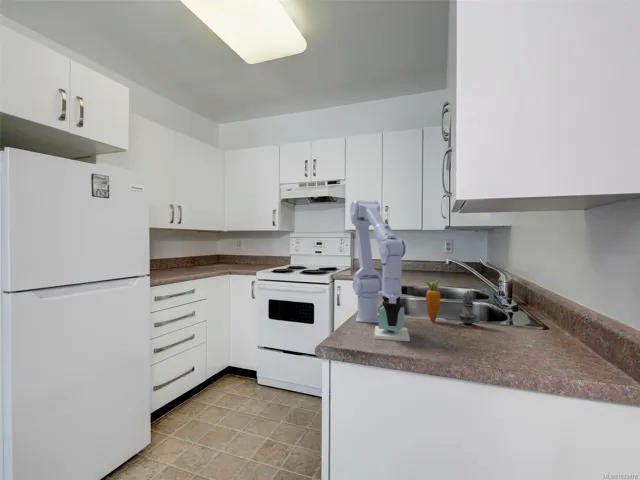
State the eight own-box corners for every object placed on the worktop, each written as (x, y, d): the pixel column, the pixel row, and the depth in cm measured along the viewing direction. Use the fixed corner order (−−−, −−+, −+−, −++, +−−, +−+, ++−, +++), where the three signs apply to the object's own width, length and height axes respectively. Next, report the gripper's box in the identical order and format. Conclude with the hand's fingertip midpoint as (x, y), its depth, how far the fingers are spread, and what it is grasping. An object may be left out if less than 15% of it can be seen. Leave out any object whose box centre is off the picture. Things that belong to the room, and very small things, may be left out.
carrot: (422, 321, 108) (423, 279, 108) (429, 319, 112) (430, 278, 112) (436, 324, 105) (436, 281, 105) (442, 322, 108) (443, 280, 108)
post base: (375, 328, 99) (375, 313, 99) (406, 331, 97) (407, 315, 97) (374, 338, 90) (374, 321, 90) (409, 341, 88) (409, 324, 88)
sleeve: (385, 323, 98) (385, 305, 98) (403, 326, 94) (404, 307, 94) (378, 328, 93) (378, 308, 93) (397, 331, 89) (397, 311, 89)
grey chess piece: (478, 328, 100) (479, 292, 100) (459, 327, 102) (459, 291, 102) (475, 324, 106) (476, 289, 106) (457, 322, 108) (457, 288, 108)
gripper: (378, 274, 101) (378, 315, 101) (378, 280, 87) (378, 328, 87) (400, 275, 100) (400, 316, 100) (403, 281, 86) (403, 329, 86)
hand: (391, 322), depth 93 cm, fingers closed on sleeve, 7 cm apart
